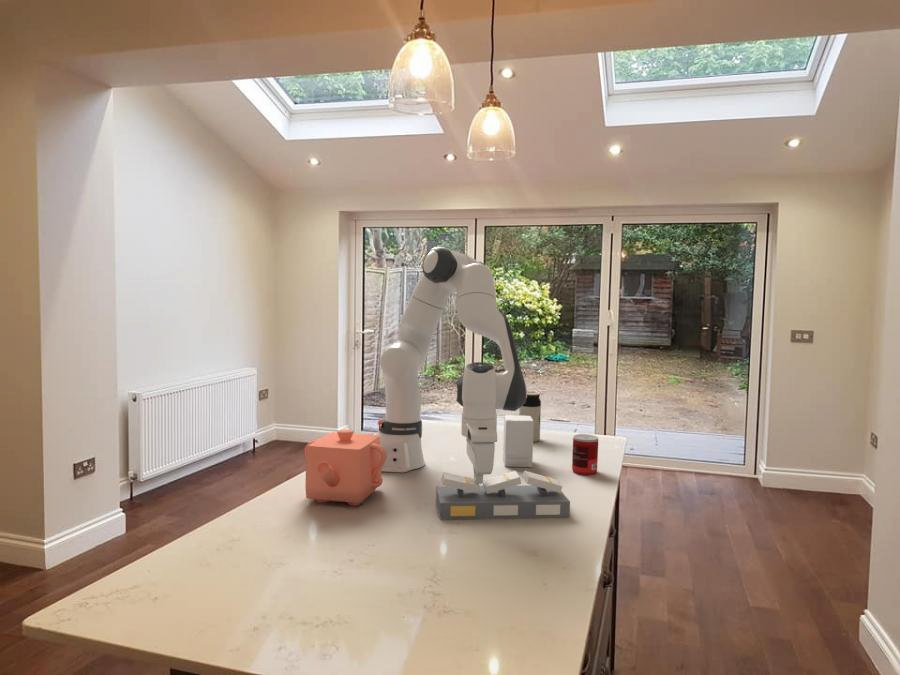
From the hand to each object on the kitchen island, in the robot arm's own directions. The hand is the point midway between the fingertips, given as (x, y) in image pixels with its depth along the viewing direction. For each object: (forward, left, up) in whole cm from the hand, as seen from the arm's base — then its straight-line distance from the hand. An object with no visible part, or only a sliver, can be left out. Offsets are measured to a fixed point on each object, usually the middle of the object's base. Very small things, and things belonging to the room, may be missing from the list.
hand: (478, 482), depth 159 cm
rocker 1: (-5, 0, 0) cm, 5 cm away
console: (+6, 0, -7) cm, 9 cm away
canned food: (+38, +32, -7) cm, 50 cm away
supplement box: (+19, +42, -7) cm, 47 cm away
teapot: (-35, +8, -7) cm, 37 cm away
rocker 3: (+16, 0, 0) cm, 16 cm away
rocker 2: (+6, 0, 0) cm, 6 cm away
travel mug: (+30, +74, -7) cm, 80 cm away
